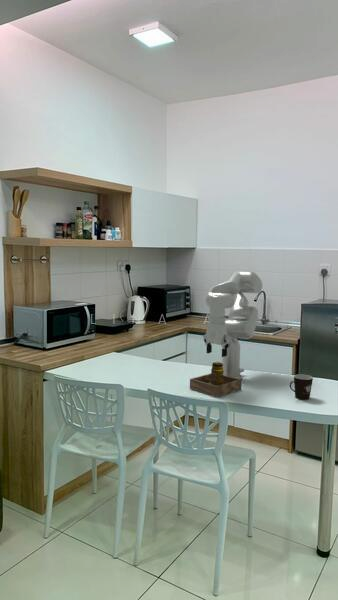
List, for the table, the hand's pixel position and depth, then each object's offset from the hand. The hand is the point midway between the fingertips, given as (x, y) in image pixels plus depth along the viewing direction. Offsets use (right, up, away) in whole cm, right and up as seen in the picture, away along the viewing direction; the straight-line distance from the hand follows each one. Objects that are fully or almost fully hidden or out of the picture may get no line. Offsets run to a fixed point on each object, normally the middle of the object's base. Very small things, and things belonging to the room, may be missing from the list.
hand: (216, 354), depth 224 cm
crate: (0, -17, +1) cm, 17 cm away
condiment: (0, -17, +1) cm, 17 cm away
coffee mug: (+38, -19, -10) cm, 43 cm away
